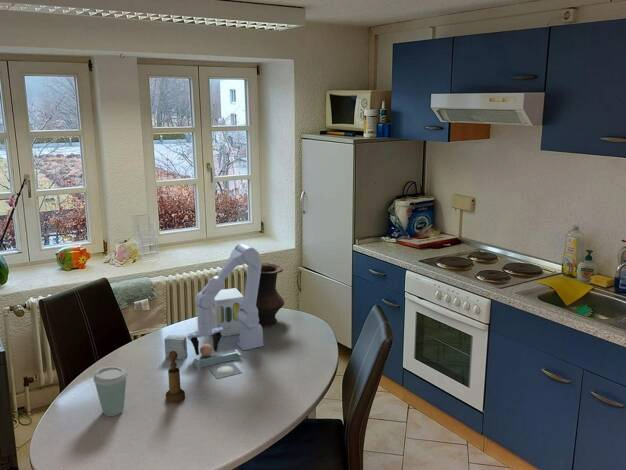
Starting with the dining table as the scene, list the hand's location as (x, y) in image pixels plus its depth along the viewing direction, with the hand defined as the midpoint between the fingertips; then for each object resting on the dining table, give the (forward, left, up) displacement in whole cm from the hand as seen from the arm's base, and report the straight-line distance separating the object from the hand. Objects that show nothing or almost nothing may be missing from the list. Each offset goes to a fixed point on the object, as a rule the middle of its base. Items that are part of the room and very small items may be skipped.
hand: (206, 352), depth 237 cm
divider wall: (-2, +8, -2) cm, 8 cm away
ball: (0, 0, -2) cm, 2 cm away
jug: (-35, -21, -2) cm, 41 cm away
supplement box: (-17, -21, -2) cm, 27 cm away
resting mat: (-2, +16, -2) cm, 16 cm away
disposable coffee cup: (+42, +26, -2) cm, 49 cm away
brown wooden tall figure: (+21, +28, -2) cm, 35 cm away
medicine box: (+11, -5, -2) cm, 12 cm away
